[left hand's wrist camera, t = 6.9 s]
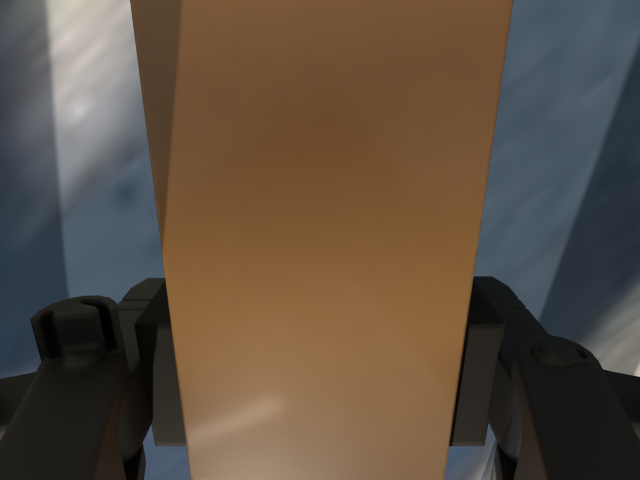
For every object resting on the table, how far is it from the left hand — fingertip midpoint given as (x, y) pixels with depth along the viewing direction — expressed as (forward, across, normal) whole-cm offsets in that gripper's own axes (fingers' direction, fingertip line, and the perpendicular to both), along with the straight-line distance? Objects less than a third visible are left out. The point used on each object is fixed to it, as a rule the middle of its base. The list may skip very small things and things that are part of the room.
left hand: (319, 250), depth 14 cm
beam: (+1, 0, -20) cm, 20 cm away
